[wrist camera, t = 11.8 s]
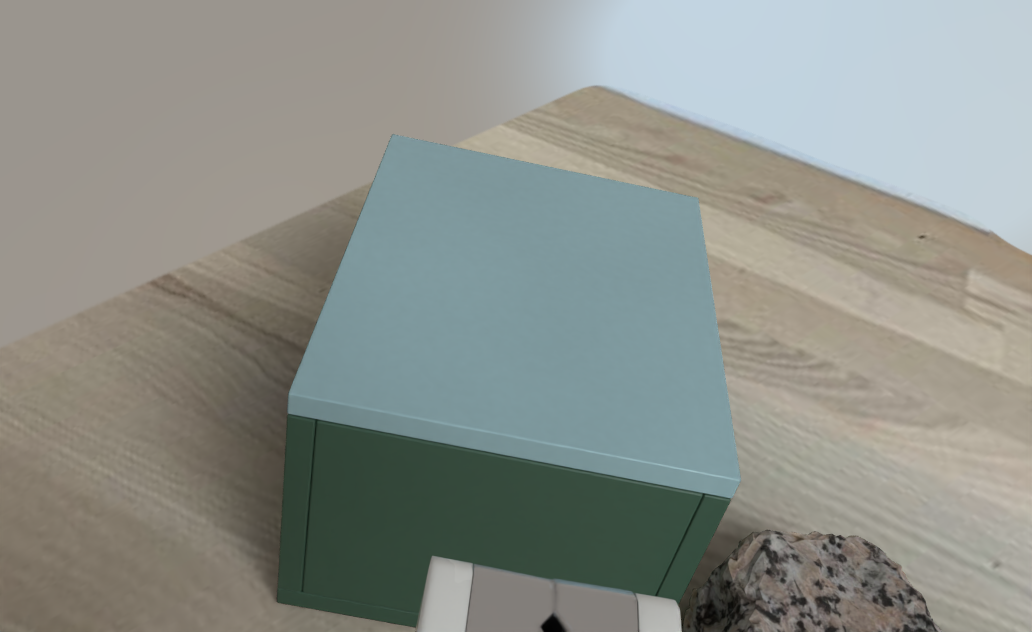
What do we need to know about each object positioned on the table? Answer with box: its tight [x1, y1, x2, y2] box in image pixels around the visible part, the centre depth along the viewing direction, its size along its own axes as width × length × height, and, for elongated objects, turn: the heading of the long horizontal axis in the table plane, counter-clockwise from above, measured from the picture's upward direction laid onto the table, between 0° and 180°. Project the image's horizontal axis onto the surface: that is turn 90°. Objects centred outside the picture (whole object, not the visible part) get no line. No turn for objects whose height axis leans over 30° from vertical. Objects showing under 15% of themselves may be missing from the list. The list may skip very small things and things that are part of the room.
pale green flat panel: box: [287, 134, 741, 498], centre depth 32 cm, size 15×13×1 cm
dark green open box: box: [277, 414, 731, 627], centre depth 34 cm, size 15×13×9 cm
